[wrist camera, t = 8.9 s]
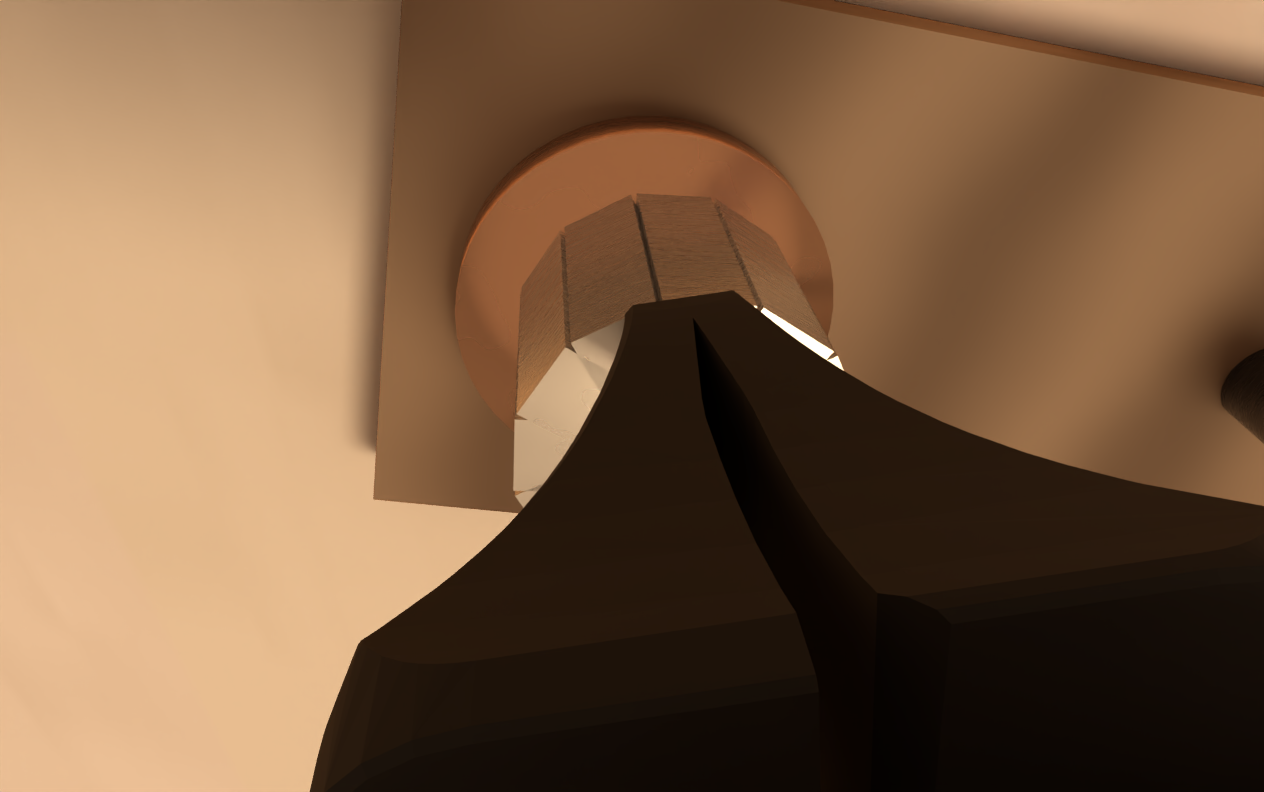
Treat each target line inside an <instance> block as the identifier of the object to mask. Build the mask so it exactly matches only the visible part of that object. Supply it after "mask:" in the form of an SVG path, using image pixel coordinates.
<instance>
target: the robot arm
mask: <svg viewBox="0 0 1264 792" xmlns="http://www.w3.org/2000/svg"><path fill="white" fill-rule="evenodd" d="M624 316H625V322H624V328H623V332H622V336H621V340H620V343H619V346H618V349H617V352H616V355H615V358H614V361H613V363H612V365H611V368H610V370H609V373H608V375H607V377H606V380H605V382H604V385H603V387H602V389H601V391H600V393H599V396H598V398H597V399H596V401H595V403H594V405H593V407H592V409H591V411H590V412H589V414H588V416H587V418H586V420H585V422H584V424H583V425H582V427H581V429H580V431H579V433H578V434H577V436H576V438H575V439H574V441H573V442H572V444H571V445H570V447H569V449H568V450H567V452H566V453H565V455H564V456H563V458H562V459H561V461H560V462H559V463H558V465H557V466H556V468H555V469H554V470H553V472H552V473H551V474H550V476H549V477H548V479H547V480H546V481H545V482H544V484H543V485H542V486H541V487H540V489H539V490H538V491H537V492H536V493H535V495H534V496H533V497H532V498H531V499H530V501H529V502H528V503H527V504H526V505H525V507H524V508H523V509H522V510H521V511H520V512H519V514H518V515H517V516H516V517H515V518H514V519H513V520H512V521H511V522H510V524H509V525H508V526H507V527H506V528H505V529H504V530H503V531H502V532H501V533H500V534H499V535H497V536H496V537H495V538H494V539H493V540H492V541H491V542H490V543H489V544H488V545H487V546H486V547H485V548H484V549H482V550H481V551H480V552H479V553H478V554H477V555H476V556H475V557H473V558H472V559H471V560H470V561H469V562H467V563H466V564H465V565H464V566H463V567H462V568H460V569H459V570H458V571H457V572H456V573H455V574H453V575H452V576H451V577H450V578H448V579H447V580H446V581H445V582H443V583H442V584H441V585H440V586H438V587H437V588H436V589H434V590H433V591H432V592H430V593H429V594H427V595H426V596H425V597H423V598H422V599H420V600H419V601H418V602H416V603H415V604H413V605H412V606H411V607H409V608H408V609H406V610H405V611H404V612H402V613H401V614H399V615H398V616H397V617H395V618H394V619H392V620H391V621H390V622H388V623H387V624H385V625H384V626H383V627H381V628H380V629H378V630H377V631H375V632H374V633H372V634H371V635H369V636H367V637H366V638H364V639H363V640H361V642H360V643H359V644H358V646H357V649H356V651H355V654H354V656H353V659H352V661H351V664H350V666H349V669H348V671H347V674H346V676H345V679H344V681H343V684H342V687H341V689H340V692H339V694H338V697H337V699H336V702H335V705H334V707H333V710H332V713H331V715H330V718H329V721H328V723H327V726H326V729H325V732H324V735H323V739H322V743H321V746H320V750H319V754H318V758H317V762H316V766H315V771H314V775H313V780H312V784H311V789H310V792H1264V506H1262V505H1256V504H1251V503H1245V502H1240V501H1234V500H1229V499H1223V498H1218V497H1212V496H1207V495H1202V494H1196V493H1191V492H1185V491H1180V490H1174V489H1169V488H1163V487H1158V486H1152V485H1147V484H1142V483H1137V482H1133V481H1128V480H1124V479H1120V478H1116V477H1113V476H1109V475H1105V474H1101V473H1097V472H1093V471H1089V470H1085V469H1081V468H1077V467H1073V466H1069V465H1066V464H1062V463H1059V462H1056V461H1052V460H1049V459H1045V458H1042V457H1039V456H1035V455H1032V454H1029V453H1026V452H1022V451H1020V450H1017V449H1014V448H1011V447H1008V446H1005V445H1003V444H1000V443H997V442H994V441H991V440H989V439H986V438H983V437H980V436H977V435H974V434H972V433H969V432H966V431H964V430H961V429H959V428H957V427H954V426H952V425H949V424H947V423H944V422H942V421H940V420H937V419H935V418H933V417H931V416H929V415H927V414H924V413H922V412H920V411H918V410H916V409H914V408H912V407H909V406H907V405H905V404H903V403H901V402H899V401H897V400H895V399H893V398H891V397H889V396H887V395H885V394H883V393H881V392H879V391H878V390H876V389H874V388H872V387H870V386H869V385H867V384H865V383H864V382H862V381H860V380H859V379H857V378H855V377H854V376H852V375H850V374H848V373H847V372H845V371H843V370H842V369H840V368H838V367H837V366H835V365H834V364H832V363H831V362H829V361H828V360H826V359H824V358H823V357H821V356H820V355H818V354H817V353H815V352H814V351H813V350H811V349H810V348H808V347H807V346H805V345H804V344H802V343H801V342H800V341H798V340H797V339H795V338H794V337H793V336H791V335H790V334H789V333H787V332H786V331H785V330H783V329H782V328H781V327H780V326H778V325H777V324H776V323H774V322H773V321H772V320H771V319H769V318H768V317H767V316H765V315H764V314H763V313H762V312H760V311H759V310H758V309H757V308H755V307H754V306H753V305H752V304H750V303H749V302H748V301H747V300H745V299H744V298H743V297H741V296H740V295H739V294H738V293H736V292H735V291H734V290H731V291H724V292H718V293H711V294H704V295H697V296H690V297H684V298H677V299H670V300H663V301H656V302H649V303H643V304H636V305H632V306H631V308H630V309H629V310H628V311H627V312H626V314H625V315H624Z"/></svg>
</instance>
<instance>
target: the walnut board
mask: <svg viewBox="0 0 1264 792" xmlns="http://www.w3.org/2000/svg"><path fill="white" fill-rule="evenodd" d="M630 116H665V117H672V118H680V119H687V120H690V121H694V122H698V123H701V124H705V125H709V126H712V127H714V128H716V129H719V130H721V131H723V132H726V133H728V134H730V135H733V136H734V137H736V138H738V139H739V140H741V141H743V142H744V143H746V144H748V145H749V146H751V147H753V148H754V149H755V150H757V151H758V152H759V153H760V154H762V155H763V156H764V157H765V158H766V159H768V160H769V161H770V162H771V163H772V164H773V165H774V166H775V167H776V168H777V169H778V170H779V171H780V172H781V173H782V175H783V176H784V177H785V178H786V179H787V180H788V181H789V183H790V184H791V186H792V187H793V189H794V190H795V192H796V193H797V195H798V196H799V198H800V199H801V201H802V202H803V204H804V205H805V207H806V208H807V210H808V211H809V213H810V215H811V216H812V218H813V219H814V221H815V223H816V225H817V227H818V229H819V231H820V234H821V236H822V238H823V240H824V243H825V246H826V249H827V253H828V256H829V260H830V263H831V270H832V278H833V285H834V286H833V312H832V319H831V325H830V330H829V333H828V339H829V341H830V343H831V344H832V346H833V348H834V350H835V352H836V354H837V356H838V358H839V360H840V363H841V365H842V368H843V370H844V371H845V372H847V373H848V374H850V375H852V376H854V377H855V378H857V379H859V380H860V381H862V382H864V383H865V384H867V385H869V386H870V387H872V388H874V389H876V390H878V391H879V392H881V393H883V394H885V395H887V396H889V397H891V398H893V399H895V400H897V401H899V402H901V403H903V404H905V405H907V406H909V407H912V408H914V409H916V410H918V411H920V412H922V413H924V414H927V415H929V416H931V417H933V418H935V419H937V420H940V421H942V422H944V423H947V424H949V425H952V426H954V427H957V428H959V429H961V430H964V431H966V432H969V433H972V434H974V435H977V436H980V437H983V438H986V439H989V440H991V441H994V442H997V443H1000V444H1003V445H1005V446H1008V447H1011V448H1014V449H1017V450H1020V451H1022V452H1026V453H1029V454H1032V455H1035V456H1039V457H1042V458H1045V459H1049V460H1052V461H1056V462H1059V463H1062V464H1066V465H1069V466H1073V467H1077V468H1081V469H1085V470H1089V471H1093V472H1097V473H1101V474H1105V475H1109V476H1113V477H1116V478H1120V479H1124V480H1128V481H1133V482H1137V483H1142V484H1147V485H1152V486H1158V487H1163V488H1169V489H1174V490H1180V491H1185V492H1191V493H1196V494H1202V495H1207V496H1212V497H1218V498H1223V499H1229V500H1234V501H1240V502H1245V503H1251V504H1256V505H1262V506H1264V444H1263V443H1262V442H1261V441H1260V440H1259V439H1258V438H1256V437H1255V436H1254V435H1253V434H1252V433H1251V432H1250V431H1248V430H1247V429H1246V428H1245V427H1244V426H1243V425H1242V424H1241V423H1239V422H1238V421H1237V420H1236V419H1235V418H1234V417H1233V416H1231V415H1230V414H1229V413H1228V412H1227V411H1226V410H1225V409H1224V407H1223V406H1222V403H1221V397H1220V395H1221V389H1222V386H1223V383H1224V381H1225V379H1226V378H1227V376H1228V375H1229V373H1230V372H1231V371H1232V370H1233V368H1234V367H1235V366H1236V365H1237V364H1238V363H1240V362H1241V361H1242V360H1243V359H1245V358H1246V357H1248V356H1249V355H1251V354H1253V353H1255V352H1257V351H1259V350H1262V349H1264V87H1263V86H1258V85H1253V84H1248V83H1243V82H1238V81H1233V80H1228V79H1223V78H1218V77H1213V76H1208V75H1203V74H1198V73H1193V72H1188V71H1183V70H1178V69H1173V68H1168V67H1163V66H1158V65H1153V64H1148V63H1143V62H1138V61H1133V60H1129V59H1124V58H1119V57H1114V56H1109V55H1104V54H1099V53H1094V52H1089V51H1084V50H1079V49H1074V48H1069V47H1064V46H1059V45H1054V44H1049V43H1044V42H1039V41H1034V40H1029V39H1024V38H1019V37H1014V36H1009V35H1004V34H999V33H994V32H989V31H984V30H979V29H974V28H969V27H964V26H959V25H954V24H949V23H944V22H939V21H934V20H929V19H924V18H919V17H914V16H909V15H904V14H899V13H895V12H890V11H885V10H880V9H875V8H870V7H865V6H860V5H855V4H850V3H845V2H840V1H835V0H402V9H401V26H400V44H399V61H398V79H397V96H396V113H395V131H394V148H393V166H392V183H391V201H390V218H389V236H388V253H387V270H386V288H385V305H384V323H383V340H382V358H381V375H380V393H379V410H378V427H377V445H376V462H375V480H374V497H373V499H375V500H385V501H396V502H406V503H417V504H428V505H438V506H449V507H459V508H470V509H480V510H491V511H501V512H512V513H519V512H520V511H521V510H522V509H523V506H522V505H521V504H520V502H519V501H518V499H517V498H516V497H515V491H513V481H514V431H512V430H511V429H510V428H509V427H508V426H507V425H506V424H505V423H504V422H503V421H502V420H501V419H499V418H498V417H497V416H496V415H495V414H494V412H493V411H492V410H491V409H490V407H489V406H488V405H487V403H486V402H485V401H484V400H483V398H482V397H481V396H480V394H479V392H478V390H477V389H476V387H475V385H474V384H473V382H472V380H471V378H470V376H469V374H468V371H467V369H466V366H465V364H464V361H463V359H462V355H461V351H460V347H459V343H458V339H457V333H456V322H455V302H456V289H457V283H458V278H459V272H460V267H461V262H462V257H463V252H464V247H465V244H466V241H467V238H468V235H469V233H470V230H471V227H472V224H473V222H474V220H475V219H476V217H477V215H478V213H479V211H480V209H481V207H482V206H483V204H484V202H485V201H486V199H487V198H488V197H489V195H490V194H491V193H492V191H493V190H494V188H495V187H496V186H497V184H498V183H499V182H500V181H501V180H502V179H503V178H504V177H505V176H506V175H507V174H508V173H509V172H510V171H511V170H512V169H513V168H514V167H515V166H516V165H517V164H518V163H519V162H521V161H522V160H523V159H524V158H526V157H527V156H528V155H530V154H531V153H532V152H533V151H535V150H536V149H538V148H539V147H541V146H543V145H545V144H546V143H548V142H550V141H551V140H553V139H555V138H557V137H558V136H561V135H563V134H565V133H568V132H570V131H573V130H575V129H577V128H580V127H582V126H586V125H589V124H593V123H597V122H600V121H604V120H608V119H615V118H622V117H630Z"/></svg>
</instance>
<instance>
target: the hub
mask: <svg viewBox="0 0 1264 792" xmlns="http://www.w3.org/2000/svg"><path fill="white" fill-rule="evenodd" d="M637 193H639V194H659V195H678V196H698V197H711V200H712V202H714V200H715V199H717V200H718V201H720V202H721V203H723V204H724V205H726V206H727V207H729V208H730V209H732V210H733V211H735V212H736V213H738V214H739V215H741V216H742V217H744V218H745V219H747V220H748V221H750V222H751V223H753V224H754V225H756V226H757V227H759V228H760V229H762V230H763V231H765V232H766V233H768V234H769V235H771V236H772V237H773V239H774V241H775V240H776V242H777V244H778V246H779V248H780V250H781V252H782V253H783V255H784V257H785V259H786V261H787V263H788V265H789V266H790V268H791V270H792V272H793V274H794V276H795V278H796V279H797V281H798V283H799V285H800V287H801V289H802V291H803V292H804V294H805V296H806V298H807V300H808V302H809V304H810V305H811V307H812V309H813V311H814V313H815V315H816V317H817V318H818V320H819V322H820V324H821V326H822V328H823V330H824V331H825V333H826V335H827V337H828V333H829V330H830V325H831V319H832V312H833V286H834V285H833V278H832V270H831V263H830V260H829V256H828V253H827V249H826V246H825V243H824V240H823V238H822V236H821V234H820V231H819V229H818V227H817V225H816V223H815V221H814V219H813V218H812V216H811V215H810V213H809V211H808V210H807V208H806V207H805V205H804V204H803V202H802V201H801V199H800V198H799V196H798V195H797V193H796V192H795V190H794V189H793V187H792V186H791V184H790V183H789V181H788V180H787V179H786V178H785V177H784V176H783V175H782V173H781V172H780V171H779V170H778V169H777V168H776V167H775V166H774V165H773V164H772V163H771V162H770V161H769V160H768V159H766V158H765V157H764V156H763V155H762V154H760V153H759V152H758V151H757V150H755V149H754V148H753V147H751V146H749V145H748V144H746V143H744V142H743V141H741V140H739V139H738V138H736V137H734V136H733V135H730V134H728V133H726V132H723V131H721V130H719V129H716V128H714V127H712V126H709V125H705V124H701V123H698V122H694V121H690V120H687V119H680V118H672V117H665V116H630V117H622V118H615V119H608V120H604V121H600V122H597V123H593V124H589V125H586V126H582V127H580V128H577V129H575V130H573V131H570V132H568V133H565V134H563V135H561V136H558V137H557V138H555V139H553V140H551V141H550V142H548V143H546V144H545V145H543V146H541V147H539V148H538V149H536V150H535V151H533V152H532V153H531V154H530V155H528V156H527V157H526V158H524V159H523V160H522V161H521V162H519V163H518V164H517V165H516V166H515V167H514V168H513V169H512V170H511V171H510V172H509V173H508V174H507V175H506V176H505V177H504V178H503V179H502V180H501V181H500V182H499V183H498V184H497V186H496V187H495V188H494V190H493V191H492V193H491V194H490V195H489V197H488V198H487V199H486V201H485V202H484V204H483V206H482V207H481V209H480V211H479V213H478V215H477V217H476V219H475V220H474V222H473V224H472V227H471V230H470V233H469V235H468V238H467V241H466V244H465V247H464V252H463V257H462V262H461V267H460V272H459V278H458V283H457V289H456V302H455V322H456V333H457V339H458V343H459V347H460V351H461V355H462V359H463V361H464V364H465V366H466V369H467V371H468V374H469V376H470V378H471V380H472V382H473V384H474V385H475V387H476V389H477V390H478V392H479V394H480V396H481V397H482V398H483V400H484V401H485V402H486V403H487V405H488V406H489V407H490V409H491V410H492V411H493V412H494V414H495V415H496V416H497V417H498V418H499V419H501V420H502V421H503V422H504V423H505V424H506V425H507V426H508V427H509V428H510V429H511V430H512V431H514V426H515V400H516V377H517V355H518V332H519V310H520V292H522V286H523V284H524V283H525V281H526V280H527V278H528V277H529V276H530V274H531V273H532V271H533V270H534V268H535V267H536V265H537V264H538V262H539V261H540V259H541V258H542V256H543V255H544V253H545V252H546V251H547V249H548V248H549V246H550V245H551V243H552V242H553V240H554V239H555V237H556V236H557V234H558V233H559V231H562V232H564V233H565V228H564V227H565V226H567V225H569V224H571V223H573V222H575V221H577V220H579V219H581V218H583V217H586V216H588V215H590V214H592V213H594V212H596V211H598V210H600V209H602V208H604V207H606V206H608V205H610V204H612V203H614V202H617V201H619V200H621V199H623V198H625V197H627V196H629V195H632V198H633V200H634V202H635V204H636V196H637Z"/></svg>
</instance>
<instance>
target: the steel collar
mask: <svg viewBox="0 0 1264 792" xmlns="http://www.w3.org/2000/svg"><path fill="white" fill-rule="evenodd" d="M564 228H565V233H564V232H562V231H559V233H558V234H557V236H556V237H555V239H554V240H553V242H552V243H551V245H550V246H549V248H548V249H547V251H546V252H545V253H544V255H543V256H542V258H541V259H540V261H539V262H538V264H537V265H536V267H535V268H534V270H533V271H532V273H531V274H530V276H529V277H528V278H527V280H526V281H525V283H524V284H523V286H522V292H520V310H519V332H518V355H517V377H516V400H515V426H514V481H513V491H515V497H516V498H517V499H518V501H519V502H520V504H521V505H522V506H523V508H524V507H525V505H526V504H527V503H528V502H529V501H530V499H531V498H532V497H533V496H534V495H535V493H536V492H537V491H538V490H539V489H540V487H541V486H542V485H543V484H544V482H545V481H546V480H547V479H548V477H549V476H550V474H551V473H552V472H553V470H554V469H555V468H556V466H557V465H558V463H559V462H560V461H561V459H562V458H563V456H564V455H565V453H566V452H567V450H568V449H569V447H570V445H571V444H572V442H573V441H574V439H575V438H576V436H577V434H578V433H579V431H580V429H581V427H582V425H583V424H584V422H585V420H586V418H587V416H588V414H589V412H590V411H591V409H592V407H593V405H594V403H595V401H596V399H597V398H598V396H599V393H600V391H601V389H602V387H603V385H604V382H605V380H606V377H607V375H608V373H609V370H610V368H611V365H612V363H613V361H614V358H615V355H616V352H617V349H618V346H619V343H620V340H621V336H622V332H623V328H624V322H625V316H624V315H625V314H626V312H627V311H628V310H629V309H630V308H631V306H632V305H636V304H643V303H649V302H656V301H663V300H670V299H677V298H684V297H690V296H697V295H704V294H711V293H718V292H724V291H731V290H734V291H735V292H736V293H738V294H739V295H740V296H741V297H743V298H744V299H745V300H747V301H748V302H749V303H750V304H752V305H753V306H754V307H755V308H757V309H758V310H759V311H760V312H762V313H763V314H764V315H765V316H767V317H768V318H769V319H771V320H772V321H773V322H774V323H776V324H777V325H778V326H780V327H781V328H782V329H783V330H785V331H786V332H787V333H789V334H790V335H791V336H793V337H794V338H795V339H797V340H798V341H800V342H801V343H802V344H804V345H805V346H807V347H808V348H810V349H811V350H813V351H814V352H815V353H817V354H818V355H820V356H821V357H823V358H824V359H826V360H828V361H829V362H831V363H832V364H834V365H835V366H837V367H838V368H840V369H842V370H843V368H842V365H841V363H840V360H839V358H838V356H837V354H836V352H835V350H834V348H833V346H832V344H831V343H830V341H829V339H828V337H827V335H826V333H825V331H824V330H823V328H822V326H821V324H820V322H819V320H818V318H817V317H816V315H815V313H814V311H813V309H812V307H811V305H810V304H809V302H808V300H807V298H806V296H805V294H804V292H803V291H802V289H801V287H800V285H799V283H798V281H797V279H796V278H795V276H794V274H793V272H792V270H791V268H790V266H789V265H788V263H787V261H786V259H785V257H784V255H783V253H782V252H781V250H780V248H779V246H778V244H777V242H776V240H775V241H774V239H773V237H772V236H771V235H769V234H768V233H766V232H765V231H763V230H762V229H760V228H759V227H757V226H756V225H754V224H753V223H751V222H750V221H748V220H747V219H745V218H744V217H742V216H741V215H739V214H738V213H736V212H735V211H733V210H732V209H730V208H729V207H727V206H726V205H724V204H723V203H721V202H720V201H718V200H717V199H715V200H714V202H712V200H711V197H698V196H678V195H659V194H639V193H637V196H636V204H635V202H634V200H633V198H632V195H629V196H627V197H625V198H623V199H621V200H619V201H617V202H614V203H612V204H610V205H608V206H606V207H604V208H602V209H600V210H598V211H596V212H594V213H592V214H590V215H588V216H586V217H583V218H581V219H579V220H577V221H575V222H573V223H571V224H569V225H567V226H565V227H564ZM843 371H844V370H843Z"/></svg>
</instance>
